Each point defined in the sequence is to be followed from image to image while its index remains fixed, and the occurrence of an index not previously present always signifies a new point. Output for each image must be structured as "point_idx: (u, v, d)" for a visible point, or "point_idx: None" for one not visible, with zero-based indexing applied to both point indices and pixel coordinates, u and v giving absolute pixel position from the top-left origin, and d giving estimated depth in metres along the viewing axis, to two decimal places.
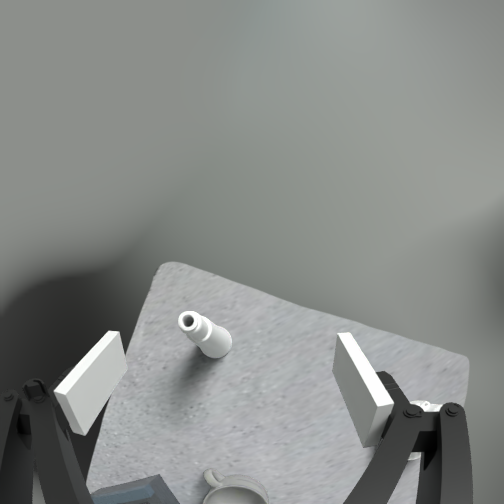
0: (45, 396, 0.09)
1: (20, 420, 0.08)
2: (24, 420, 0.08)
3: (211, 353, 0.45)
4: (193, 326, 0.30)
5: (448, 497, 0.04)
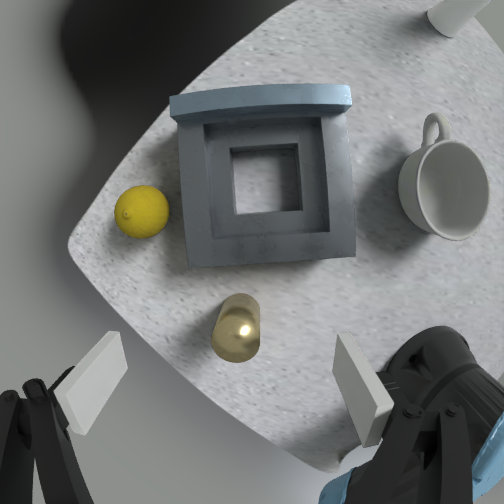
0: (45, 396, 0.09)
1: (20, 419, 0.08)
2: (24, 420, 0.08)
3: (454, 19, 0.21)
4: None
5: (448, 497, 0.04)
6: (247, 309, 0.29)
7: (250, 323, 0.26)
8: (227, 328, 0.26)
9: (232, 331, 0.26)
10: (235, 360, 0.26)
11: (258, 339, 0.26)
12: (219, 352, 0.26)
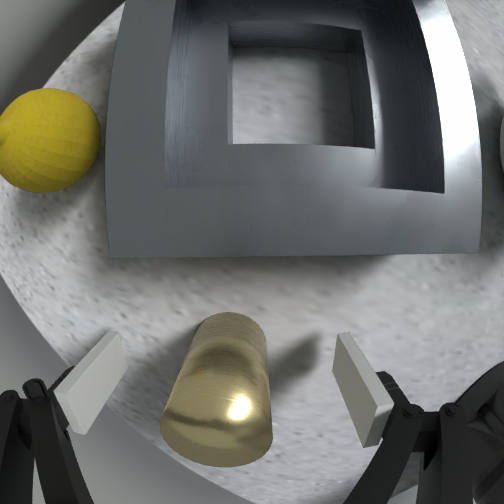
0: (45, 396, 0.09)
1: (20, 420, 0.08)
2: (24, 420, 0.08)
3: None
4: None
5: (448, 497, 0.04)
6: (245, 356, 0.13)
7: (252, 404, 0.10)
8: (196, 411, 0.09)
9: (208, 418, 0.09)
10: (215, 463, 0.10)
11: (270, 435, 0.10)
12: (180, 449, 0.10)
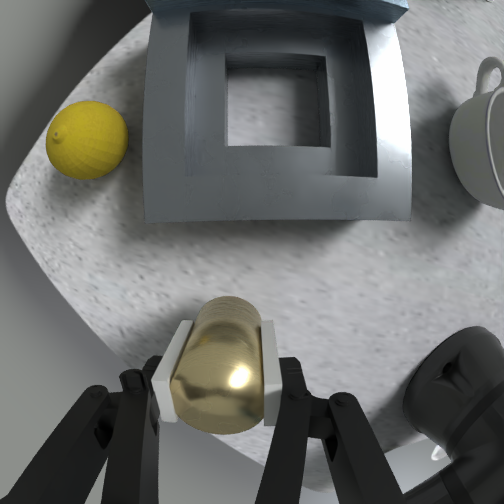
0: (143, 388, 0.11)
1: (110, 415, 0.10)
2: (116, 414, 0.10)
3: None
4: None
5: (368, 486, 0.06)
6: (243, 332, 0.15)
7: (250, 370, 0.12)
8: (201, 377, 0.11)
9: (212, 384, 0.11)
10: (217, 431, 0.12)
11: None
12: (185, 416, 0.12)
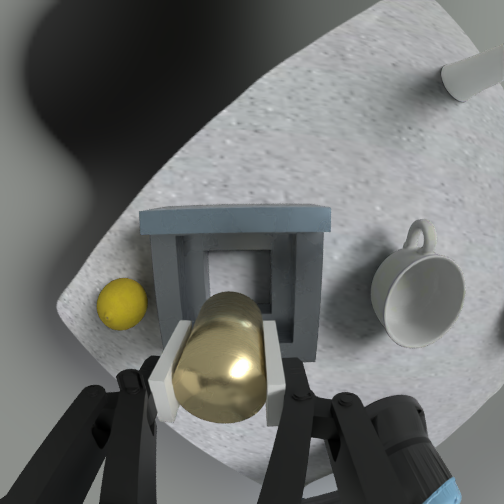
0: (140, 388, 0.11)
1: (107, 415, 0.10)
2: (113, 414, 0.10)
3: (471, 86, 0.23)
4: None
5: (370, 486, 0.06)
6: (244, 324, 0.15)
7: (250, 359, 0.12)
8: (203, 367, 0.12)
9: (213, 373, 0.12)
10: (218, 419, 0.13)
11: (265, 389, 0.12)
12: (188, 405, 0.13)
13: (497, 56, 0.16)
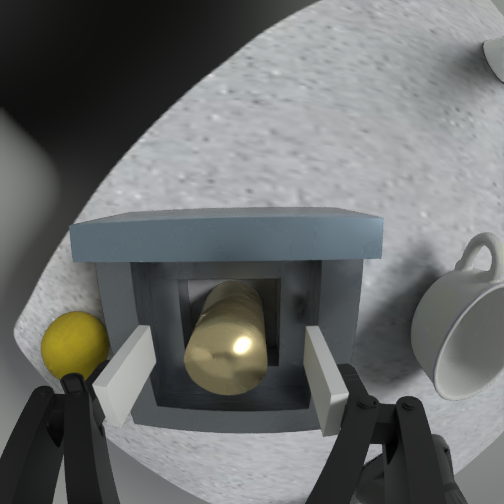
0: (84, 391, 0.10)
1: (55, 415, 0.09)
2: (60, 415, 0.09)
3: None
4: None
5: (417, 490, 0.05)
6: (247, 307, 0.18)
7: (252, 334, 0.15)
8: (212, 340, 0.15)
9: (221, 346, 0.15)
10: (224, 391, 0.15)
11: (265, 361, 0.15)
12: (197, 378, 0.15)
13: None
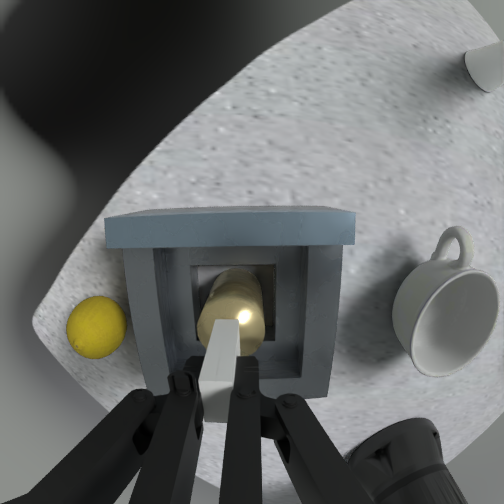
0: (192, 391, 0.11)
1: (155, 419, 0.10)
2: None
3: (499, 74, 0.17)
4: None
5: (328, 486, 0.06)
6: (248, 287, 0.22)
7: (253, 306, 0.19)
8: (220, 311, 0.19)
9: (227, 315, 0.19)
10: None
11: (263, 328, 0.19)
12: (207, 344, 0.19)
13: None
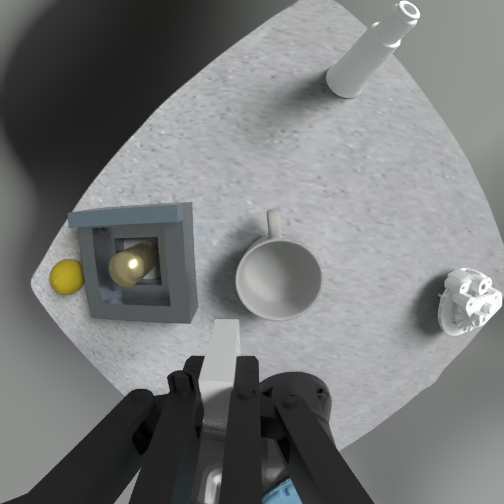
0: (191, 391, 0.11)
1: (155, 420, 0.10)
2: None
3: (347, 82, 0.32)
4: (414, 16, 0.15)
5: (328, 486, 0.06)
6: (139, 249, 0.37)
7: (133, 256, 0.34)
8: (118, 258, 0.34)
9: (121, 261, 0.34)
10: (124, 285, 0.35)
11: (138, 268, 0.34)
12: (114, 277, 0.34)
13: (356, 48, 0.25)
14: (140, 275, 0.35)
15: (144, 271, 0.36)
